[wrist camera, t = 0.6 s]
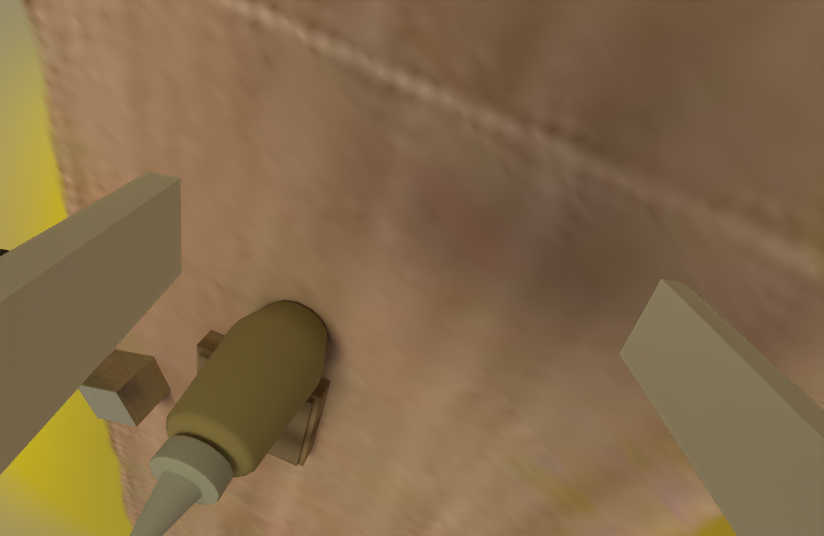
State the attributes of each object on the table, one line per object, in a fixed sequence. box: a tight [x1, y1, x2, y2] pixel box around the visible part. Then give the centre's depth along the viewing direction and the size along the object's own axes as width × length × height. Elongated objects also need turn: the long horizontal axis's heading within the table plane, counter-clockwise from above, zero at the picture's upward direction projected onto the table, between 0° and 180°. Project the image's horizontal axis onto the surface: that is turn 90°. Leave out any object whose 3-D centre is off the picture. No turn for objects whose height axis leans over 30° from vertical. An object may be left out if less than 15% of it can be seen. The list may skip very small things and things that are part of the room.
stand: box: [197, 331, 330, 466], centre depth 44 cm, size 12×12×2 cm
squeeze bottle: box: [130, 301, 328, 536], centre depth 31 cm, size 8×8×18 cm
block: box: [78, 350, 170, 427], centre depth 47 cm, size 5×5×5 cm
